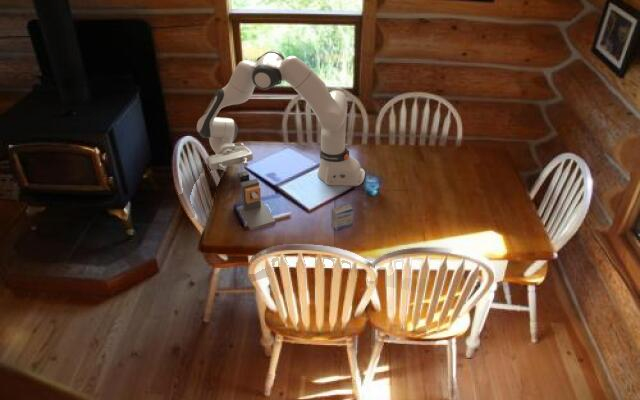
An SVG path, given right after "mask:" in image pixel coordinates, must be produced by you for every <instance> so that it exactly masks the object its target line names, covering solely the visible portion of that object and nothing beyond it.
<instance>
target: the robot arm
mask: <svg viewBox="0 0 640 400" xmlns="http://www.w3.org/2000/svg"><path fill="white" fill-rule="evenodd" d="M282 81H284V82H287V84H289V86H291V88H293V89H294V91H296V92H297V94H299V96H300V97H302V99H303V100H304V101H305V102H306V103H307V104H308V106H309V107H310V109H311V110H312V112H313V113H314V115H315V117H316V118H317V120H318V121H319V122H318V123H319V124H320V126H321V130H320V131H321V132H320V134H321V135H320V148H319V159H320V161H319V167H318V170H317V177H318V178H319V179H320V180H322V181H323V182H324V184H325V185H327V186H346V187H347V186H349V187H350V186H352V187H355V186H356V187H358V186H360V185H362V183H363V182H364V181H365V177H366V172H365V170H364V168H362V167H361V164H360V162H359V161H358V160H357V159H355V158H354V157H353V156H351V155H350V148H348V149H347V148H346V132H347V131H346V130H347V117H348V100H347V99H348V98H347V96H346V94H345V93H344V92H342V91H341V90H335V89H334V90H332V91H329V89H328V88H327V85H326V83H325V82H324V81H323V80H322V79H321V78H320V77H319V76H318V74H316V72H314V70H313V69H312V68H310V66H309V65H308V64H306V63H305V62H304V61H303V60H301V59H300V58H299V57H298V56H295V55H289V56H287V57H286V58H285V56H283V54H282V53H281V52H280V51H278V50H268V51H266V52H264V53H263V54H262V55H261V56H259V57H257V59H256V61H255V62H254V61H250V60H245V59H244V60H241V61H239V63H238V64H237V66H236V67H235V69H234V70H233V72H232V74H231V76H230V79H229V81H228V83H227V84H226V85H225V86H224V87H222V88H221V89H219V90H217V92H215V94H214V96H213V98H211V101H210V102H209V104H208V105H207V108H206V109H205V111H204V113H203V114H202V115H201V116H200V117H199V118H198V119H197V122H196V123H197V124H196V132H197V133H198V134H199V135H200V136H201V138H203V139H204V138H205V139H208V140H209V145H210V146H211V149H212V150H213V152H214V153H215V154H211V155H210V156H209V155H208V156H207V157H206V158H205V161H206V163H207V164H208V166H209V168H210V170H211V171H216V170H222V171H223V172H224V173H225V172H228V167H232V166H235V165H240V164H243V166H244V167H248V166H249V165H248V162H251V161H253V158H254V156H253V155H254V154H253V152H252V151H251V150H250V148H249V147H247V146H245V144H244V143H243V142H237V143H236V142H234V141H235V140H236V138H237V136H238V130H239V129H238V125H237V123H236V121H235V120H234V119H233V118H231V117H230V118H229V117H221V116H220V117H219V116H217V115H218V113H219V112H220V110H221V109H224V108H225V107H228V106H233V105H240V104H243V103H246V102H248V100H249V99H250V98H251V97H252V95H253V93H254V90H255V87H256V88H258V89H260V90H264V91H267V90H269V89H272V88H273V87H276V86H278V85H280V84H282Z"/></svg>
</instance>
